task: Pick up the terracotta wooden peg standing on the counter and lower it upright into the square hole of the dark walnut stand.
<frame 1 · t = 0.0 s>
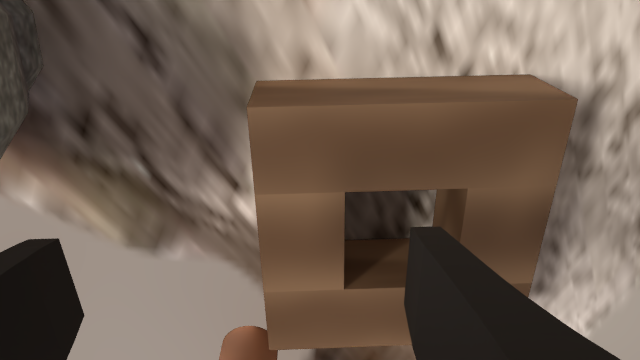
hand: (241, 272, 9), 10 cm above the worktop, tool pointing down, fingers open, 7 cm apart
peg: (250, 346, 24), on the worktop
walnut stand: (387, 197, 20), on the worktop
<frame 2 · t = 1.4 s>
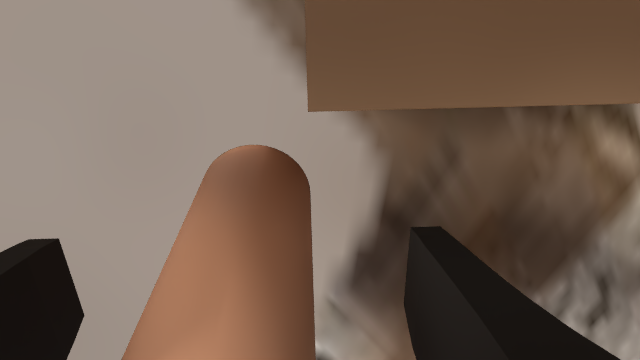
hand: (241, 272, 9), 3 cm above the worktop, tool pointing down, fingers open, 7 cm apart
peg: (256, 194, 12), on the worktop
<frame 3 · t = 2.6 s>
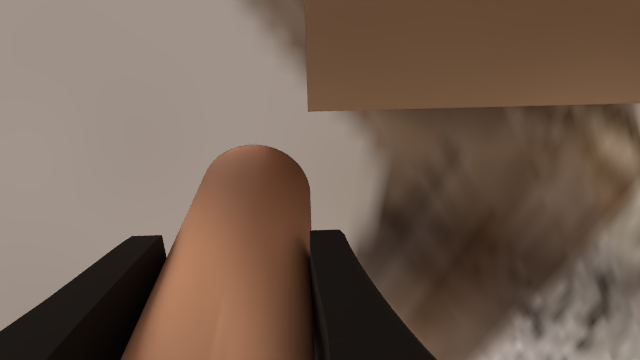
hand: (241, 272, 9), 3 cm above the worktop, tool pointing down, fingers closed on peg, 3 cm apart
peg: (256, 194, 12), on the worktop, touching gripper
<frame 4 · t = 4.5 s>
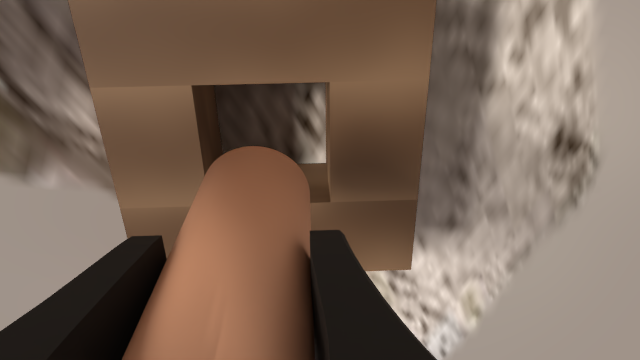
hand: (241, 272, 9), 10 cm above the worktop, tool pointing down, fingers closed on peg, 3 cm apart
peg: (256, 195, 12), point 7 cm above the worktop, touching gripper
walnut stand: (272, 115, 19), on the worktop
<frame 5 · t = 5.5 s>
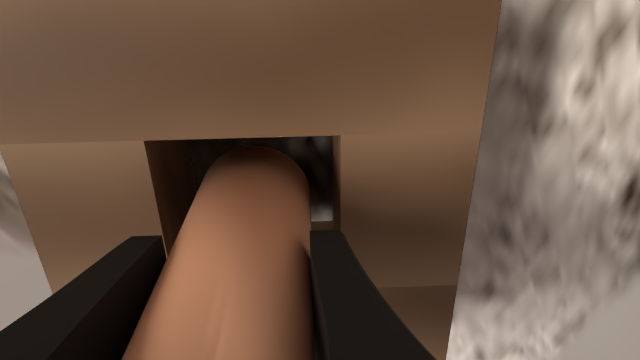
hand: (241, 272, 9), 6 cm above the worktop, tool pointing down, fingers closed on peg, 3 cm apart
peg: (256, 195, 12), point 2 cm above the worktop, touching gripper
walnut stand: (262, 164, 14), on the worktop
when the fingers open (4 cm above the worktop, at t = 6.5 s): peg drops 1 cm, resting in walnut stand.
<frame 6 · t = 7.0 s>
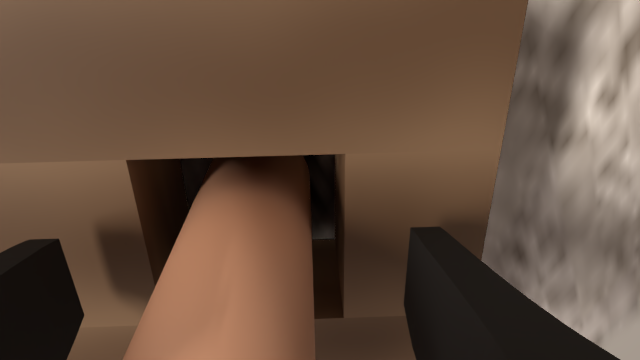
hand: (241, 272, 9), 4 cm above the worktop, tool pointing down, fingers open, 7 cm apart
peg: (259, 179, 13), resting in walnut stand
walnut stand: (259, 178, 13), on the worktop
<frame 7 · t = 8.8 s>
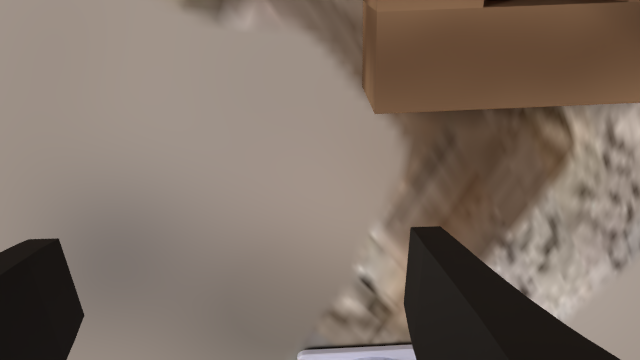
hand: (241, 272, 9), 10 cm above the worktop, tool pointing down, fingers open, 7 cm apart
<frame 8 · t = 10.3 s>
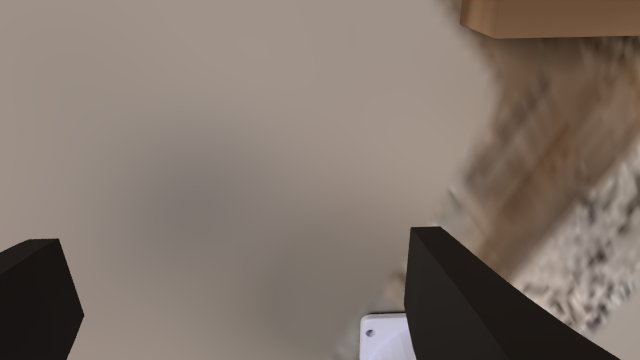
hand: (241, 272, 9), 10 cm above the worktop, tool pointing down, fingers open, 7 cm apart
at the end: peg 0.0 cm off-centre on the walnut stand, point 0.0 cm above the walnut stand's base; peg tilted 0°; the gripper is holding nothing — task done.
